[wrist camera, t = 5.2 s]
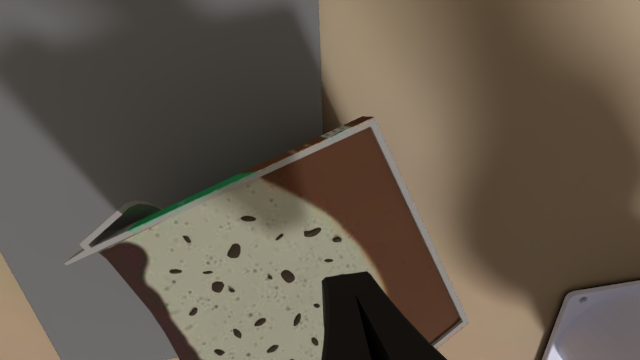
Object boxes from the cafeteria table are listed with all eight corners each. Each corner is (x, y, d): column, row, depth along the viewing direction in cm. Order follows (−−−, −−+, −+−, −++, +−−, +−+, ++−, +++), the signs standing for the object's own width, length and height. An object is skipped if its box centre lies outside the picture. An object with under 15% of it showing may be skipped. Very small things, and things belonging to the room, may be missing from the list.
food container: (306, 75, 18) (103, 190, 17) (354, 73, 12) (50, 249, 11) (409, 277, 22) (253, 380, 21) (481, 347, 16) (271, 494, 15)
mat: (313, -88, 13) (315, -89, 13) (328, 327, 23) (330, 332, 23) (-169, -74, 11) (-182, -75, 11) (72, 368, 21) (69, 375, 21)
